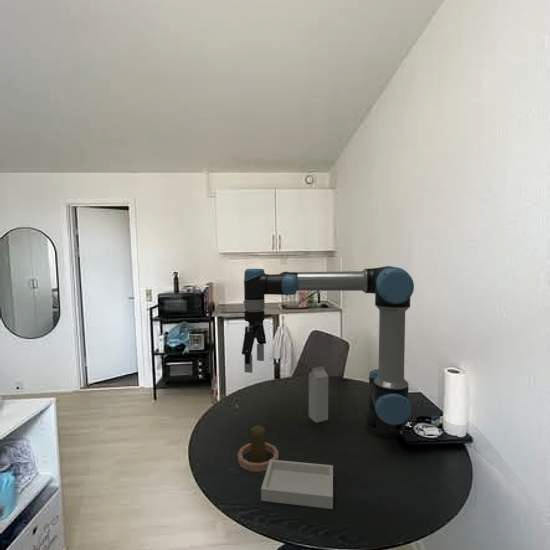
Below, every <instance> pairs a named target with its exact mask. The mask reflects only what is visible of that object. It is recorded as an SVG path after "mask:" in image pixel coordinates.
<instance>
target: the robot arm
mask: <svg viewBox="0 0 550 550" xmlns="http://www.w3.org/2000/svg"><path fill="white" fill-rule="evenodd" d="M243 277H244V279H243V286H244V287H243V288H244V290H243V292H244V297H243V298H244V301H243V304H244V307H243V308H244V312H243V313H244V314H243V316H244V321H245V322H248V326H247V325H246V326H245V327H244V335H243V336H244V337H243V342H242V343H243V344H242V348H241V349H242V351H241V355H243V356H244V360H243V361H244V373H250V374H252V373H253V353H252V352H253V349H254V344H255V339H256V342H257V344H256V361H257V362H264V361H265V345H266V344H267V341H266V340H267V339H266V332H265V328H264V321H265V320H266V319H265V317H266V316H265V315H266V314H265V312H266V311H265V308H266V307H265V306H266V305H265V303H266V302H265V300H266V299H265V296H267V295H275V296H276V295H277V296H294V295H296V294H297V292H298V291H299V292H303V291H305V292H308V291H309V292H310V291H311V292H314V291H315V292H317V291H318V292H325V291H327V292H329V291H330V292H335V291H336V292H338V291H339V292H343V291H344V292H348V291H349V292H352V291H353V292H354V291H355V292H359V291H360V292H361V291H362V292H363V293H364V294H374V296H375V297H374V300H375V301H374V306H375V307H376V308H377V309H378V311H379V312H378V313H379V317H378V318H379V320H378V322H379V323H378V369H372V370H371V371H369V373H368V374H369V375H368V408H367V411H366V414H365V417H364V419H363V426H364V427H363V428H364V429H365V430H366V431H367V433H370V434H372V435H373V436H377V437H380V438H381V437H382V438H388V439H389V438H390V439H393V438H397V437H400V436H399V432H400V431H402V430H403V428H404V429H405V424H404V422H406V421H407V420H409V418H410V417H411V414H412V404H411V402H410V401H409V382H408V381H407V380H406V379H405V351H406V350H405V347H406V346H405V344H406V343H405V341H406V339H405V338H406V311H407V310H409V308H411V297H412V296H413V294H414V289H415V284H414V280H413V277H412V276H411V275H410V273H408V271H406V270H405V269H403V268H401V267H398V266H397V267H396V266H390V265H386V266H381V267H371V268H364V269H363V270H362V271H361V270H359V271H358V270H357V271H356V270H355V271H353V270H351V271H350V270H349V271H348V270H347V271H299V272H296V271H294V272H293V271H291V272H290V271H282V272H280V273H277V274H271V273H270V274H269V273H268V274H267V273H265V269H263V268H247V269H245V271H244V275H243Z"/></svg>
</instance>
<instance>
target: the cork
mask: <svg viewBox="0 0 550 550" xmlns="http://www.w3.org/2000/svg"><path fill="white" fill-rule="evenodd" d="M249 433H250V434H249V436H250V437H251V442H250V443H251V451H249V452H250V453H249V462H252V463H262V462H266V461H268V456H267V451H266V447H265V442H266V441H265V437H266V435H267V434H266V429H265V428H264V426H261V425H255V426H253V427H251V429H250V432H249Z"/></svg>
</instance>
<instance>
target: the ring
mask: <svg viewBox="0 0 550 550" xmlns="http://www.w3.org/2000/svg"><path fill="white" fill-rule="evenodd" d="M265 447H266V452H268V453H269V454H271V455H272V456H273V457H272V458H270V459H271V460H279V450H278V449H277V447H276V446H275V445H273V444H270V443H269V442H266V441H265ZM250 451H251V442H250V443H246V444H245V445H242V446H241V447H240V448H239V451H238V452H237V463H238V464H239V467H241V469H244V470H246V471H248V472H254V473H261V472H262V473H263V472H266V471H267V468H268V464H269V461H270V459H268V460H267V461H266V462H262V463H252V462H250V460H249V461H248V460H247V459H245V458H244V456H245V455H246V454H248V453H249V452H250Z"/></svg>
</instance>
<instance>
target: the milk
mask: <svg viewBox="0 0 550 550" xmlns="http://www.w3.org/2000/svg"><path fill="white" fill-rule="evenodd" d="M326 371H327V370H325V366H324V365H323V366H317V367H313V368H312V370H311V372H309V373H308V418H310V419H311V420H312V421H313V422H314V423H315V424H316V423H320V422H321V423H322V422H324V421H325V422H326V421H328V420H329V375H328V373H327V372H326Z"/></svg>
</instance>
